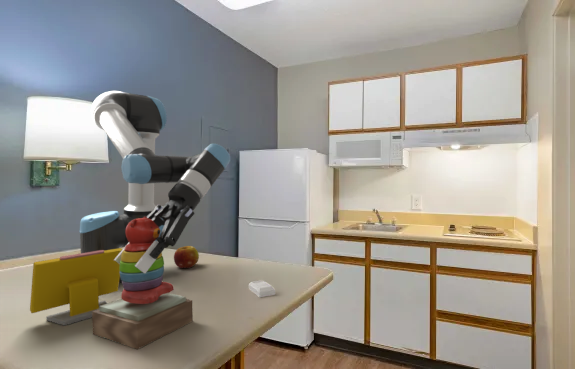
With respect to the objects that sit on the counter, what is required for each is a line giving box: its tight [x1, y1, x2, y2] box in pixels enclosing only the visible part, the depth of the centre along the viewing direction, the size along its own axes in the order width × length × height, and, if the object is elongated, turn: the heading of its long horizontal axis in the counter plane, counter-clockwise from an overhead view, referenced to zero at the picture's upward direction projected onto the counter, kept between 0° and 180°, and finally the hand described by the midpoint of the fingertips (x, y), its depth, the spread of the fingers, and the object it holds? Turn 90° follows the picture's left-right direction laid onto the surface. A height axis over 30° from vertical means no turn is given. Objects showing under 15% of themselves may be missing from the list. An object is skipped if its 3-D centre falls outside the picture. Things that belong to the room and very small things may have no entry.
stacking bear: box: [119, 217, 174, 304], centre depth 77 cm, size 11×10×18 cm
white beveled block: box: [248, 279, 276, 298], centre depth 101 cm, size 5×9×3 cm, turn 26°
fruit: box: [173, 245, 200, 269], centre depth 133 cm, size 10×9×8 cm
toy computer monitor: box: [29, 248, 123, 326], centre depth 86 cm, size 20×8×16 cm, turn 141°
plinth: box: [91, 292, 194, 350], centre depth 77 cm, size 15×15×6 cm
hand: (129, 266), depth 75 cm, fingers closed on stacking bear, 9 cm apart
